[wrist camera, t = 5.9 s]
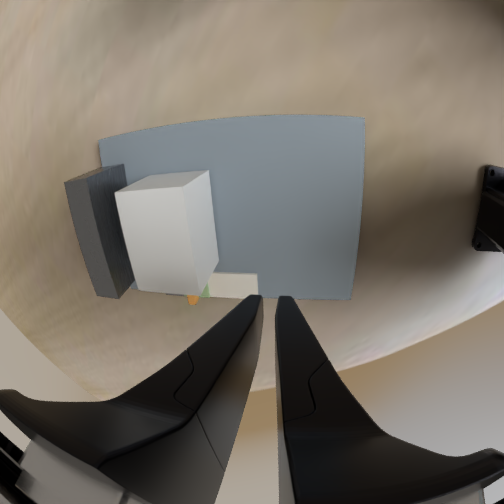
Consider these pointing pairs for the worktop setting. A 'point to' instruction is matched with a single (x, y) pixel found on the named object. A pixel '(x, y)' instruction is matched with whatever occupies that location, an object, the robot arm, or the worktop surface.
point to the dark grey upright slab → (101, 228)
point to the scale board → (266, 197)
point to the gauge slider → (170, 232)
